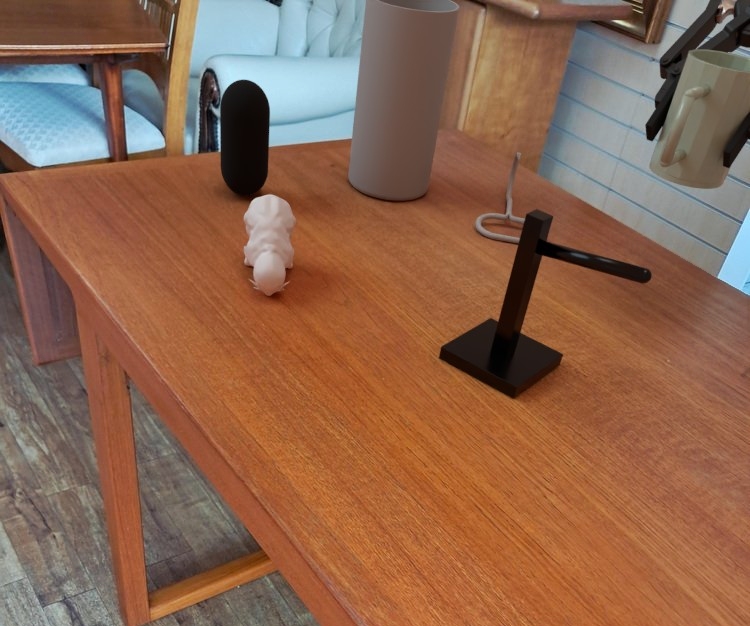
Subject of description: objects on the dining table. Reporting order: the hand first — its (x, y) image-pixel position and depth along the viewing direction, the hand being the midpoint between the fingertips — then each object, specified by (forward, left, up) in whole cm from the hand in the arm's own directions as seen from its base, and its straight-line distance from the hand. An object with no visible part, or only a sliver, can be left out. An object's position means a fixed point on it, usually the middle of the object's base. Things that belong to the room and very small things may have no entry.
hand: (686, 146), depth 88 cm
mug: (0, -1, -4) cm, 4 cm away
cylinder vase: (+43, +10, -21) cm, 49 cm away
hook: (+29, -3, -21) cm, 36 cm away
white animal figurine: (+21, +40, -21) cm, 50 cm away
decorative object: (+45, +33, -21) cm, 60 cm away
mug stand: (-8, +22, -21) cm, 31 cm away
